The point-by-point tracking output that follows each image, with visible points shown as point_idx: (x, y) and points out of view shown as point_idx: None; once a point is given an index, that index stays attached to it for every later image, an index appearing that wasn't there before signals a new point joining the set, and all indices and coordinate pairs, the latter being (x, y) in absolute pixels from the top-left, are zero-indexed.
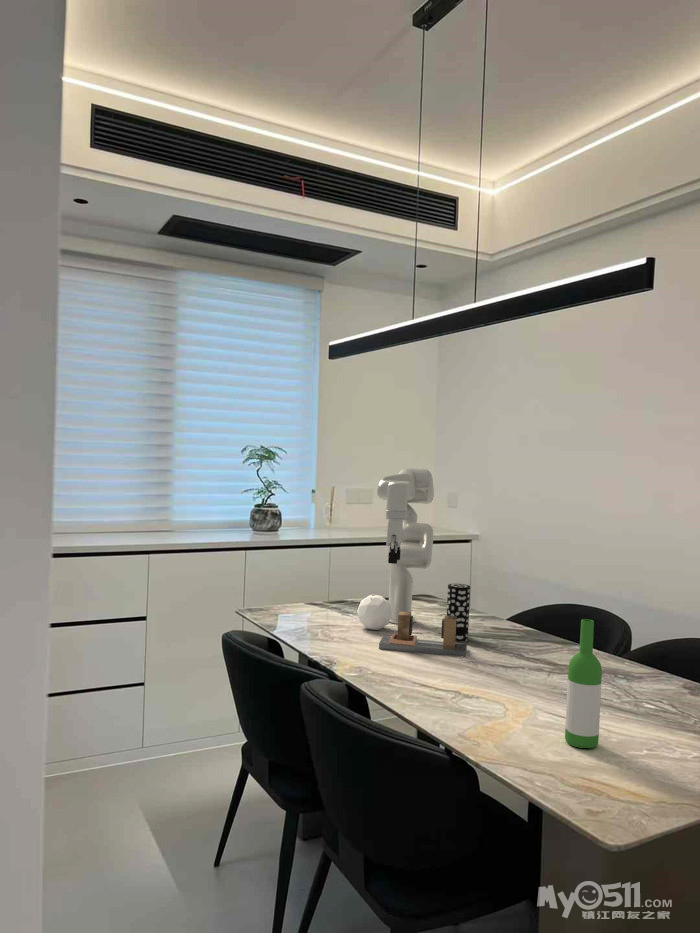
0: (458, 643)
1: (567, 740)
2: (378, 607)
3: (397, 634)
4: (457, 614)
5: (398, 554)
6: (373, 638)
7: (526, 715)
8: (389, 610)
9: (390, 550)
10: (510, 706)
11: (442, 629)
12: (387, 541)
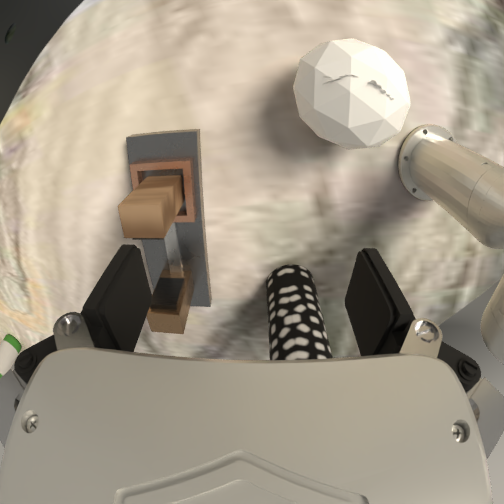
0: (206, 294)
1: (6, 335)
2: (310, 107)
3: (140, 184)
4: (268, 326)
5: (356, 326)
6: (225, 100)
7: (24, 324)
8: (335, 143)
9: (48, 338)
10: (30, 317)
11: (154, 291)
12: (21, 401)
